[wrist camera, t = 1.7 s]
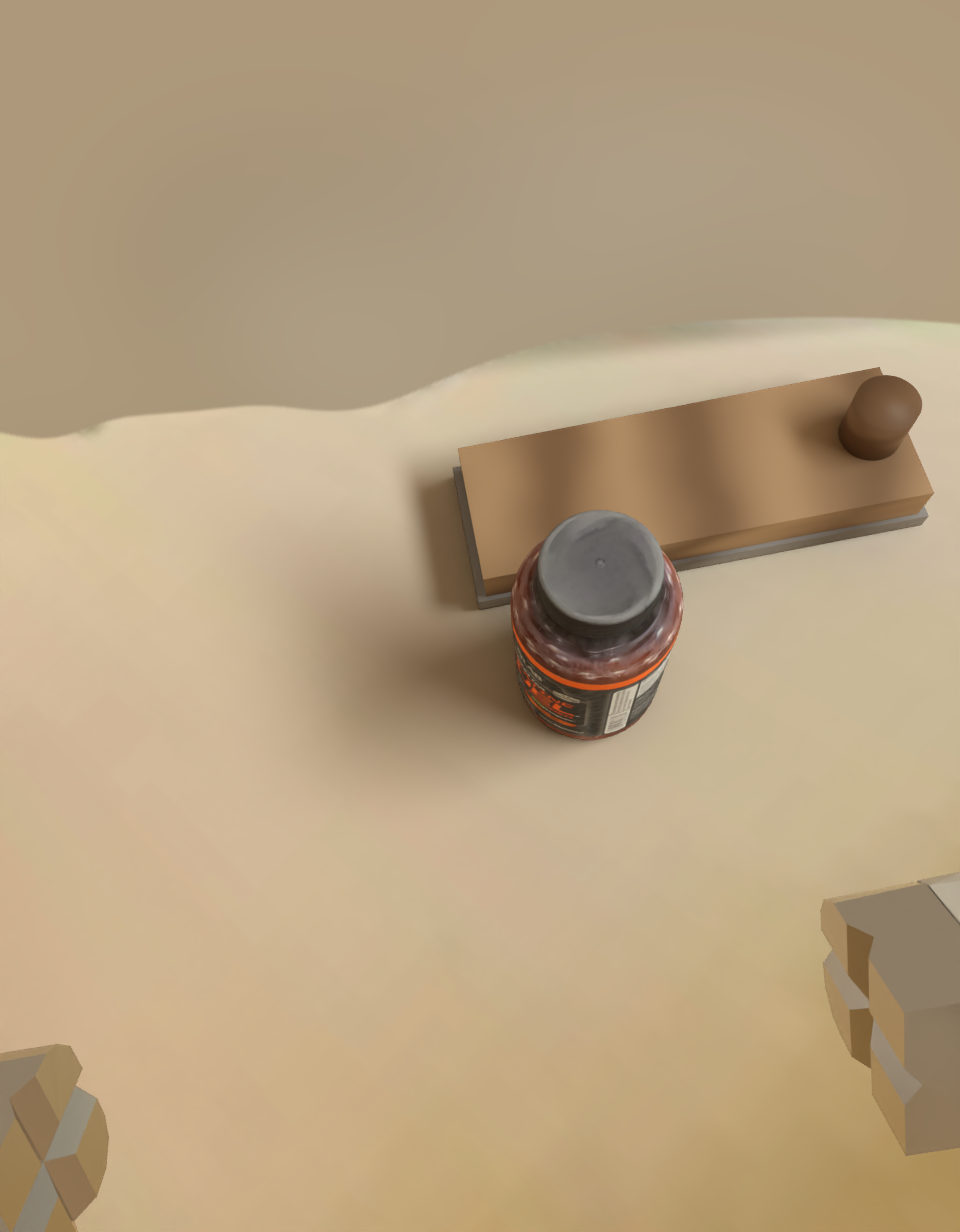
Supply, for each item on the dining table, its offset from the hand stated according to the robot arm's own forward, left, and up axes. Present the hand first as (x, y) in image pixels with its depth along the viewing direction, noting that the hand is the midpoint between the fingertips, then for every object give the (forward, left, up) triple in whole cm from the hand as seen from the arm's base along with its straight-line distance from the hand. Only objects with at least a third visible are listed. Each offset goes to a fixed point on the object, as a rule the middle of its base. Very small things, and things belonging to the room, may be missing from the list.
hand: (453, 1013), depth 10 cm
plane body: (+11, +19, -26) cm, 34 cm away
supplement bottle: (+5, +12, -26) cm, 29 cm away
